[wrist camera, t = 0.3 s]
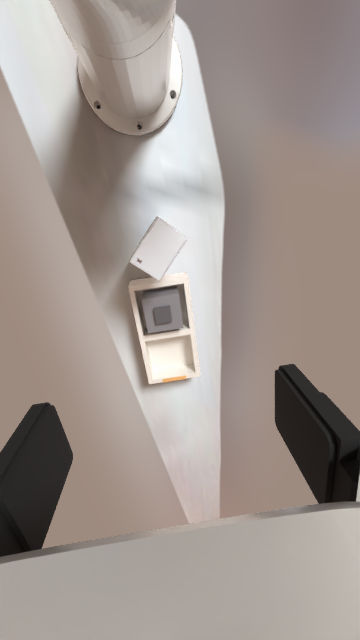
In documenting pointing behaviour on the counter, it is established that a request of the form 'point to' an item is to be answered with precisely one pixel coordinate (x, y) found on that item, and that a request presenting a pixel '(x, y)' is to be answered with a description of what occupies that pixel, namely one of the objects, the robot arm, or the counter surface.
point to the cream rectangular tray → (167, 333)
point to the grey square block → (162, 309)
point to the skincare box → (158, 249)
